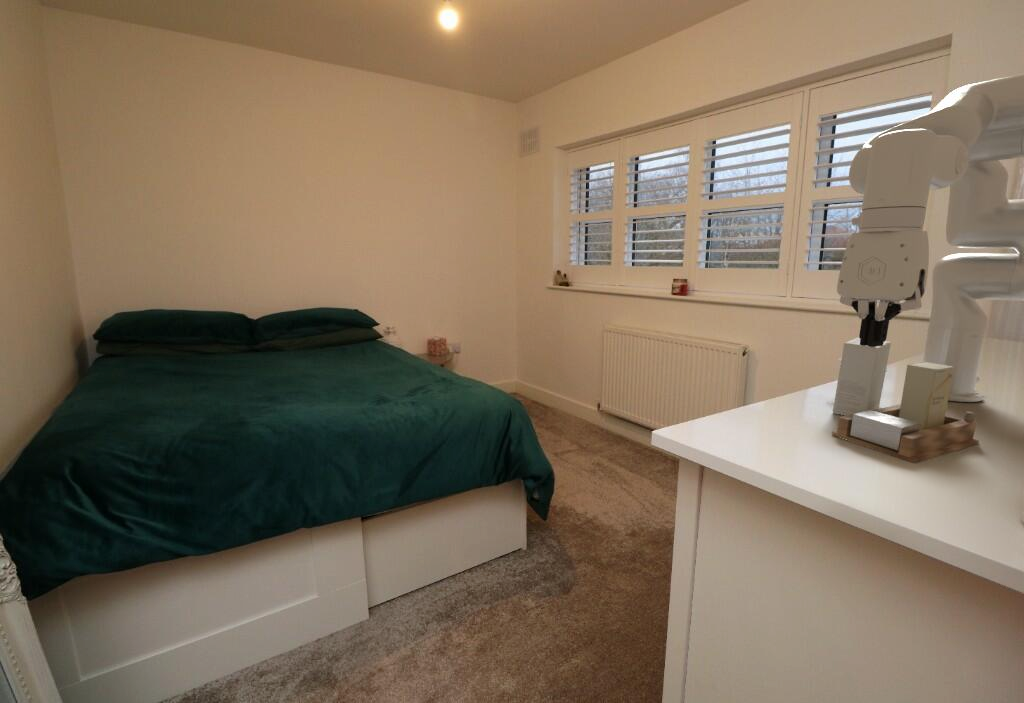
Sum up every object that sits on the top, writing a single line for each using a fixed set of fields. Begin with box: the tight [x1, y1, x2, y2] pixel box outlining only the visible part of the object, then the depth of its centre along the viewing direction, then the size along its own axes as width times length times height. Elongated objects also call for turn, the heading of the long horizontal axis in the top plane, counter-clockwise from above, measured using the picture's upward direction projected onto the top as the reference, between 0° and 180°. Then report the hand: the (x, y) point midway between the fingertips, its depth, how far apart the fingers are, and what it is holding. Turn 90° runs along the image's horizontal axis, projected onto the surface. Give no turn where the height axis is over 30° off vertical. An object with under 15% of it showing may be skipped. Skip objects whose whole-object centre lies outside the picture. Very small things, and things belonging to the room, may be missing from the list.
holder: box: [831, 403, 980, 464], centre depth 83 cm, size 19×13×5 cm, turn 115°
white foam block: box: [850, 410, 920, 450], centre depth 81 cm, size 5×7×4 cm
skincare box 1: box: [832, 337, 892, 416], centre depth 96 cm, size 8×6×15 cm
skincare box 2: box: [899, 361, 954, 431], centre depth 84 cm, size 6×4×12 cm
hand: (871, 345), depth 75 cm, fingers closed
